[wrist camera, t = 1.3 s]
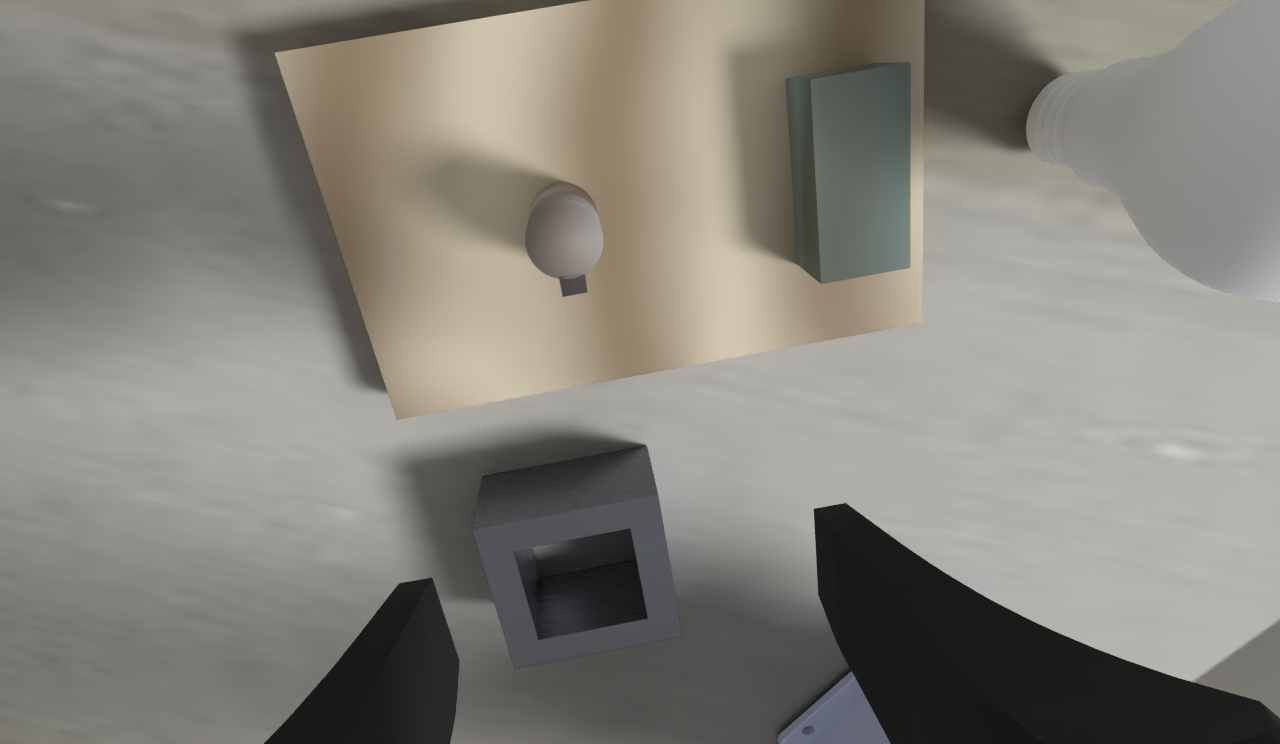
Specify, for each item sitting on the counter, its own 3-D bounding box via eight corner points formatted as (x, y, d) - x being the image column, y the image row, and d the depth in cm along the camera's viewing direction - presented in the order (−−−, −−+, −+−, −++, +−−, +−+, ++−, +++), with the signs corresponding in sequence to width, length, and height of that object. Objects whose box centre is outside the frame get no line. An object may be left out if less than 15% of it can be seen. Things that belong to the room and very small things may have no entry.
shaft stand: (898, -47, 19) (993, -80, 15) (900, 307, 23) (975, 360, 19) (295, 53, 18) (218, 49, 14) (406, 398, 22) (372, 472, 18)
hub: (646, 445, 24) (658, 494, 21) (669, 576, 26) (682, 635, 23) (482, 476, 24) (471, 529, 21) (519, 605, 26) (514, 669, 23)
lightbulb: (915, 94, 20) (1266, 119, 10) (1107, -50, 19) (1705, -178, 9) (1000, 259, 23) (1356, 413, 12) (1177, 138, 22) (1717, 199, 11)
